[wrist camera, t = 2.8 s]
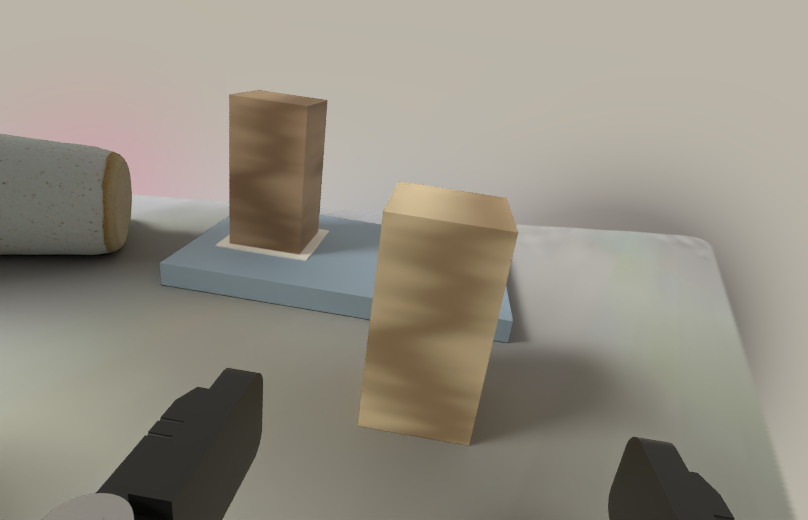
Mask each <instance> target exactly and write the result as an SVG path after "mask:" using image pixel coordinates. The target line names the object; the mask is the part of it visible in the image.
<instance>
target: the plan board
mask: <svg viewBox="0 0 808 520" xmlns="http://www.w3.org/2000/svg"><path fill="white" fill-rule="evenodd" d="M381 226H382V225H381V224H374V223H368V222H362V221H355V220H349V219H343V218H336V217H330V216H324V215H319V227H318V233H317V234H316V235H315V236H314V238H313V239H312V240H311V241H310V242H309V244H308V245H307V246H306V247H305V248H304V250H303V251H302V252H301V253H300V254H292V253H286V252H280V251H274V250H268V249H262V248H256V247H249V246H243V245H237V244H231V243H230V216H229V217H227V218H226V219H224V220H223V221H221V222H220V223H218V224H217V225H215V226H214V227H212V228H211V229H209V230H208V231H206V232H205V233H203V234H202V235H200V236H199V237H197V238H196V239H194V240H193V241H191V242H190V243H188V244H187V245H185V246H184V247H182V248H181V249H179V250H178V251H176V252H175V253H174V254H172V255H171V256H169V257H168V258H166V259H165V260H163V261H162V262H160V275H161V285H167V286H173V287H179V288H185V289H191V290H197V291H203V292H209V293H215V294H221V295H227V296H233V297H239V298H245V299H251V300H256V301H262V302H268V303H274V304H280V305H286V306H292V307H298V308H304V309H310V310H316V311H322V312H328V313H334V314H340V315H346V316H352V317H358V318H364V319H369V320H370V318H371V310H372V302H373V293H374V285H375V276H376V268H377V260H378V251H379V243H380V235H381ZM512 324H513V318H512V313H511V308H510V303H509V298H508V293H507V288H506V287H505V292H504V296H503V301H502V305H501V309H500V314H499V318H498V322H497V327H496V331H495V336H494V341H500V342H506V343H508V340H509V336H510V332H511V328H512Z"/></svg>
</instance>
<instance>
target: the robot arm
mask: <svg viewBox="0 0 808 520" xmlns="http://www.w3.org/2000/svg"><path fill="white" fill-rule="evenodd" d="M262 402H263V378H262V375H261V374H260V373H255V372H249V371H243V370H237V369H231V368H226V369H225V370H224V371H223V372H222V373H221V375H220V376H219V377H218V378H217V380H216V381H215V382H214V384H213V385H212V386H211V387H210V389H206V388H201V387H196V388H195V389H193V390H191V391H190V392H188V393H187V394H185V395H183V396H182V397H180V398H178V399H177V400H175V401H174V402H173V404H172V405H171V406H170V407H169V408H168V409H167V411H166V412H165V413H164V414H163V415H162V417H161V419H160V421H157V422H156V424H155V425H154V426H153V427H152V428H151V429H150V431H149V432H148V435H147V436H146V435H145V436H144V438H143V439H142V440H141V441H140V442H139V443H138V445H137V446H136V447H135V448H134V449H133V450H132V452H131V453H130V454H129V455H128V456H127V457H126V459H125V460H124V461H123V462H122V463H121V464H120V466H119V467H118V468H117V469H116V470H115V471H114V473H113V474H112V475H111V476H110V477H109V478H108V480H107V481H106V482H105V483H104V484H103V485H102V487H101V488H100V489H99V490H98V491H97V492H96V493H95V494H89V495H85V496H81V497H78V498H75V499H72V500H70V501H68V502H66V503H64V504H62V505H60V506H59V507H57V508H55V509H54V510H53V511H51V512H50V513H48V514H47V515H46V516H45V517H44V518H43V519H42V520H222V519H223V517H224V515H225V513H226V511H227V509H228V507H229V506H230V504H231V502H232V500H233V498H234V496H235V494H236V492H237V490H238V489H239V487H240V485H241V483H242V481H243V479H244V477H245V475H246V473H247V471H248V470H249V468H250V466H251V464H252V462H253V460H254V458H255V456H256V453H257V450H258V447H259V443H260V439H261V433H262ZM608 511H609V519H610V520H734V517H733V515H732V514H731V512H730V510H729V509H728V507H727V505H726V504H725V502H724V500H723V499H722V497H721V495H720V494H719V493H718V492H717V491H716V490H715V489H714V488H713V487H712V486H711V485H710V484H709V483H708V482H706V481H705V480H704V479H703V478H702V477H701V476H700V475H699V474H698V473H695V472H689V471H688V469H687V467H686V465H685V464H684V462H683V460H682V458H681V457H680V455H679V453H678V451H677V449H676V448H675V446H674V445H673V444H671V443H668V442H662V441H656V440H650V439H644V438H638V437H632V438H631V439H630V440H629V441H628V443H627V445H626V448H625V451H624V453H623V456H622V459H621V462H620V465H619V467H618V470H617V473H616V476H615V479H614V481H613V484H612V487H611V490H610V494H609V502H608Z"/></svg>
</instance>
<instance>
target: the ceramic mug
mask: <svg viewBox="0 0 808 520" xmlns="http://www.w3.org/2000/svg"><path fill="white" fill-rule="evenodd" d="M131 204H132V192H131V180H130V173H129V168H128V165H127V163H126V161H125V160H124V158H123V157H122V156H120V154H117V153H115V152H112V151H108V150H105V149H101V148H98V147H94V146H86V145H78V144H70V143H61V142H53V141H48V140H40V139H32V138H25V137H19V136H12V135H5V134H0V254H21V255H52V254H66V255H98V254H105V253H111V252H115V251H117V250H119V249H120V248H121V247H122V246H123V245H124V244H125V242H126V240H127V236H128V232H129V226H130V219H131Z"/></svg>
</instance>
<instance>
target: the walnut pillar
mask: <svg viewBox="0 0 808 520" xmlns="http://www.w3.org/2000/svg"><path fill="white" fill-rule="evenodd" d="M229 107H230V109H229V111H230V112H229V114H230V116H229V118H230V119H229V121H230V122H229V123H230V125H229V127H230V128H229V129H230V130H229V134H230V135H229V136H230V137H229V138H230V139H229V140H230V143H229V145H230V146H229V148H230V149H229V151H230V152H229V154H230V156H229V160H230V162H229V167H230V243H231V244H237V245H243V246H249V247H256V248H262V249H268V250H274V251H280V252H286V253H292V254H300V253H301V252H302V251H303V250H304V248H305V247H306V246H307V245H308V244H309V242H310V241H311V240H312V239H313V238H314V236H315V235H316V234H317V233H318V227H319V213H320V199H321V184H322V169H323V155H324V141H325V126H326V111H327V100H323V99H315V98H309V97H302V96H295V95H289V94H282V93H275V92H268V91H262V90H257V91H250V92H244V93H237V94H230V95H229Z"/></svg>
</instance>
